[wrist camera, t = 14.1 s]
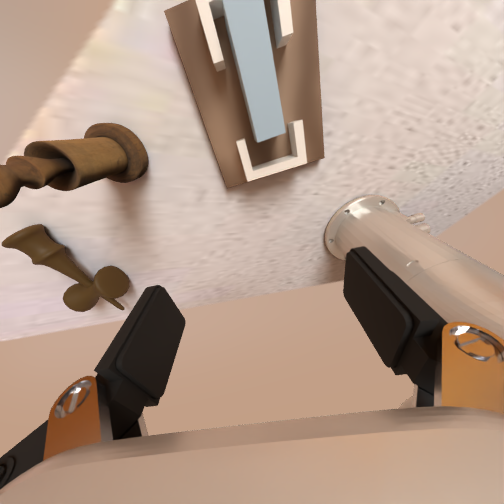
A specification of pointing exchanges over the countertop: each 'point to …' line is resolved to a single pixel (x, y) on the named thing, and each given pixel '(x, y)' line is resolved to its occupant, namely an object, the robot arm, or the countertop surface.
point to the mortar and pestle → (75, 162)
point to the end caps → (210, 10)
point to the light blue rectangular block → (255, 65)
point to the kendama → (70, 270)
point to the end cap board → (230, 92)
